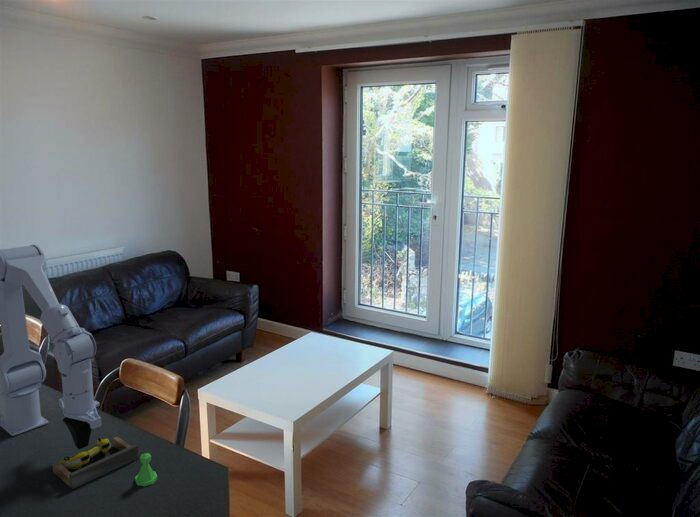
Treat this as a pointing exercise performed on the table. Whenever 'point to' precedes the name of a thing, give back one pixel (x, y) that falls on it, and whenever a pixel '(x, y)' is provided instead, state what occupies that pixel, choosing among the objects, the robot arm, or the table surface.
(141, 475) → the game piece
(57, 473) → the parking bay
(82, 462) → the yellow plastic handheld tool
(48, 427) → the table surface
